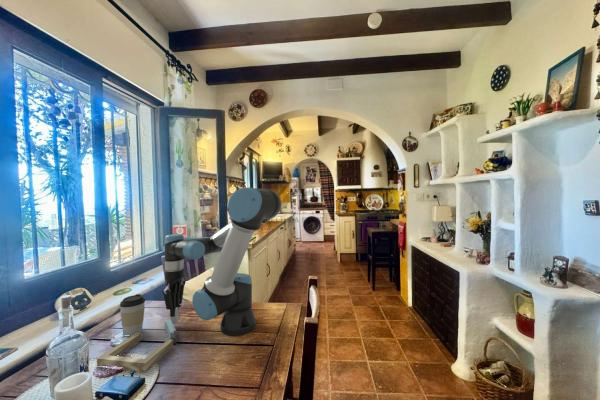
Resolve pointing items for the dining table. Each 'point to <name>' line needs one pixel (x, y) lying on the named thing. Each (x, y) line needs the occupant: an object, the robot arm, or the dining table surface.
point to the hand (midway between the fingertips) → (174, 322)
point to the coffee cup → (132, 314)
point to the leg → (169, 328)
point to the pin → (174, 337)
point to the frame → (133, 363)
